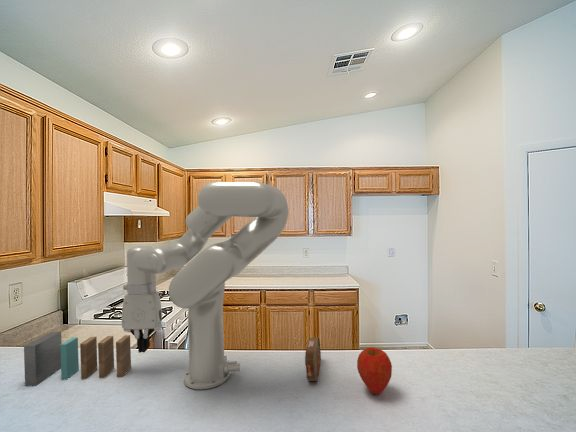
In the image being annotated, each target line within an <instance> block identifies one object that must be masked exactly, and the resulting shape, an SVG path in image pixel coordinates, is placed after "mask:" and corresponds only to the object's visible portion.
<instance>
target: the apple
mask: <svg viewBox="0 0 576 432" xmlns="http://www.w3.org/2000/svg"><path fill="white" fill-rule="evenodd" d="M356 363H357V364H356V369H357V372H358V374H359V376H360V379H361V381H362V382H363V384H364V385H365V387H366V388H367V389H368V390H369V391H370V393H372V394H373V395H381V393H383V391H384V390H385V389H386V388H387V387H388V385H389V383H390V381H391V378H392V375H393V372H392V371H393V369H392V368H393V365H392V362H391V359H390V357H389V355H388V354H387V353H386V352H385V351H384V350H382V349H380V348H377V347H376V348H375V347H367V348H364V349H363V350H361V352H360V353H359V354H358V357H357V362H356Z"/></svg>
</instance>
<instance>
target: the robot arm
mask: <svg viewBox="0 0 576 432" xmlns="http://www.w3.org/2000/svg"><path fill="white" fill-rule="evenodd" d="M197 202H198V205H197V207H195V208H194V209H193V210H192V211H191V212H190V213H188V215H187V216H186V218H185V225H186V227H187V230H186V231H185V232H184V234H183V235H182V236H181V237H179V239H178V240H176V241H175V242H173V244H172V243H171V244H166V245H162V246H161V245H160V246H155V247H153V246H148V245H145V246H144V245H142V246H133V247H130V248H128V249H127V251H126V271H127V272H126V274H127V275H126V276H127V277H126V278H127V284H123V287H122V288H123V290H124V291H126V294H124V298H123V302H122V310H121V311H122V312H121V328H122V329H123V331H124V332H126V333H130V334H132V336H134V338H135V340H136V348H137V349H138V353H145V352H146V351H147V350H148V349H150V345H151V343H150V342H151V341H150V340H151V339H150V337H151V335H152V334H153V333H154V332H157V331H161V330H162V329H163V325H162V321H163V311H162V302H161V298H160V293H159V291H158V290H157V279H156V276H157V274H160V275H161V274H164V273H167V272H170V271H172V270H177V269H179V268H180V269H179V271H178V272H177V273H176V274H174V276H173V277H172V279H171V281H170V283H169V286H168V296H169V299H170V300H171V302H172V304H174V305H175V306H176V307H178V308H180V309H184V310H185V309H188V311H187V312H188V313H187V327H188V328H187V332H188V334H187V335H188V336H187V337H188V367H189V368H188V370H187V371H186V372H185V374H184V376H183V383H184V386H186V387H188V388H190V389H193V390H207V389H213V388H215V387H218V386H220V385H222V384H224V383H225V382H227V381H228V379H229V378H230V376H231V373H232V372H233V373H238V372H240V371H241V363H238V361H237V360H232V361H230V360H228V357H227V355H225V339H224V335H225V334H224V299H225V298H224V296H225V288H226V282H227V281H228V280H230V279H232V278H234V277H235V276H237V275H239V274H240V273H241V272H242V271H243V270H245V269H246V268H247V267H248V266H249V264H251V262H253V261H254V260H255V259H256V258H257V257H259V256H260V254H262V253H263V252H264V251H265V250H266V249H267V248H268V247H269V246H270V245H271V244H273V243H274V242H276V240H277V239H278V237H279V236H280V235H281V234H282V232H283V231H284V229H285V227H286V224H287V222H288V217H289V205H288V200H287V198H286V196H285V194H284V193H283V192H282V191H281V190H280V189H279V188H278V187H276V186H273V185H270V184H268V183H264V182H260V181H259V182H258V181H211V182H208V183H206V185H203V186H202V188H201V189H200V190H199V193H198V197H197ZM232 217H242V218H243V217H244V218H245V217H246V218H253V219H252V220H250V221H249V222H247V223H246V224H245V225H244V226H243V227H242V228H241V229H240V230H239V231H237V232H236V233H234V235H232V236H231V237H230V238H229V239H226V240H224V241H222V242H217V243H214V244H211V245H209V246H207V247H205V245H206V244H207V242H208V241H209V238H210V237H212V236H213V235H214V234H215V233H216V232H217V231H218V230H219V229H220V228H222V226H223V225H224V224H226V222H228V221H229V220H230V219H231V218H232ZM204 247H205V248H204Z"/></svg>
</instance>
